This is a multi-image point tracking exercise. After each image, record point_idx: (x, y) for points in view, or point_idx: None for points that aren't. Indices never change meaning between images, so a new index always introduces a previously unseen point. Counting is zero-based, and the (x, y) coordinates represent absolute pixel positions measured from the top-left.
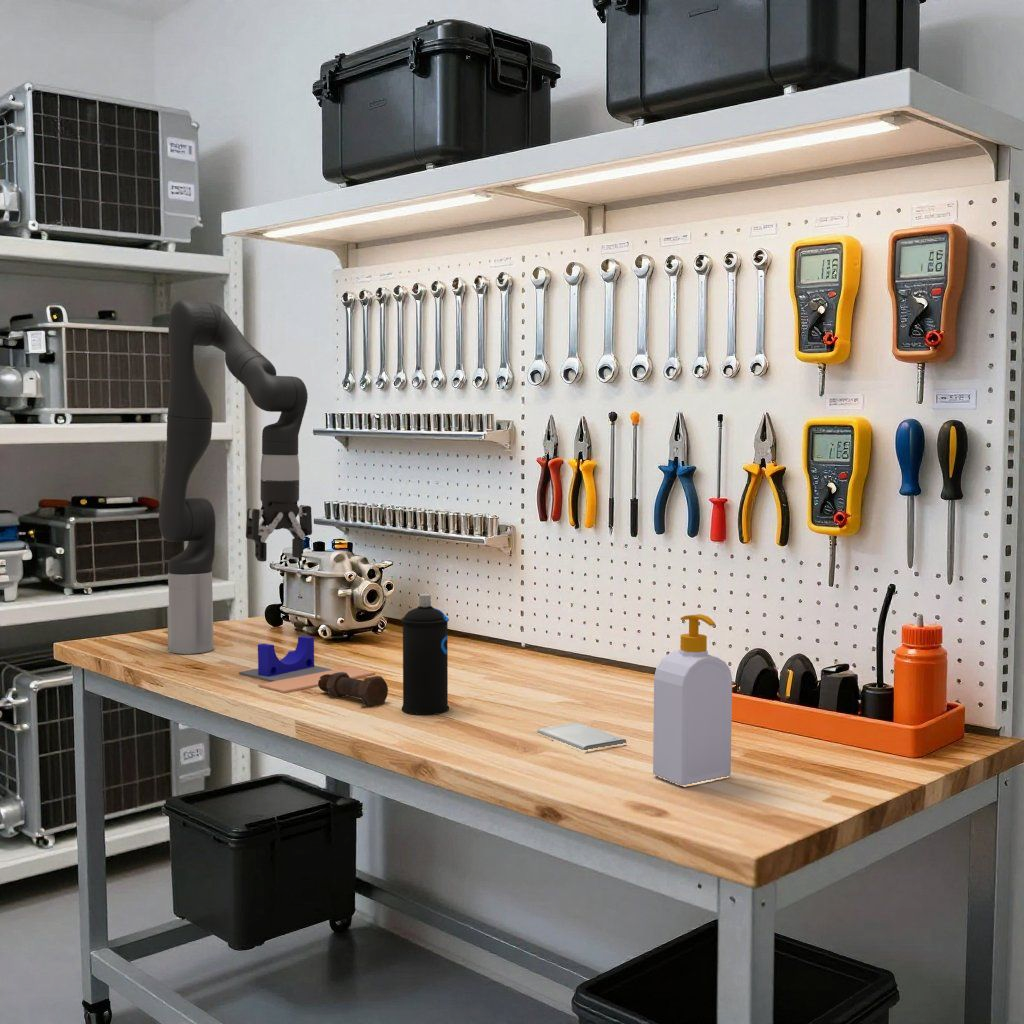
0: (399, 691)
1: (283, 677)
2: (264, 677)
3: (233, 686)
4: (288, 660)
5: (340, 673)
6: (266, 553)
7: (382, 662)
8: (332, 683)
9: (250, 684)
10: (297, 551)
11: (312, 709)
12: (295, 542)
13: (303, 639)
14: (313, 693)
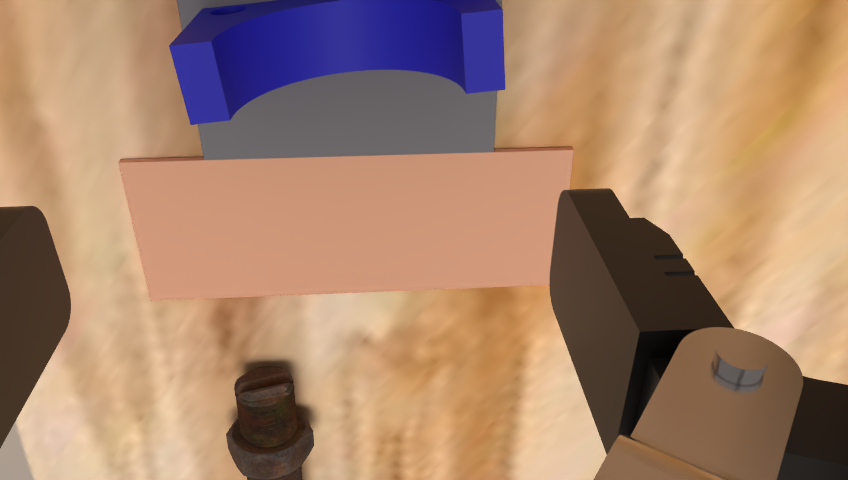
0: (434, 467)
1: (261, 129)
2: None
3: (35, 87)
4: (375, 10)
5: (268, 471)
6: (36, 381)
7: (742, 143)
8: (233, 459)
9: (111, 105)
10: (568, 318)
11: (127, 475)
12: (608, 362)
13: (461, 55)
14: (230, 351)
